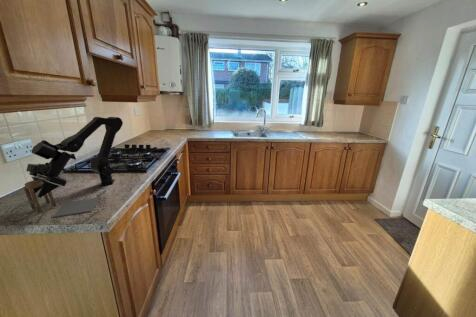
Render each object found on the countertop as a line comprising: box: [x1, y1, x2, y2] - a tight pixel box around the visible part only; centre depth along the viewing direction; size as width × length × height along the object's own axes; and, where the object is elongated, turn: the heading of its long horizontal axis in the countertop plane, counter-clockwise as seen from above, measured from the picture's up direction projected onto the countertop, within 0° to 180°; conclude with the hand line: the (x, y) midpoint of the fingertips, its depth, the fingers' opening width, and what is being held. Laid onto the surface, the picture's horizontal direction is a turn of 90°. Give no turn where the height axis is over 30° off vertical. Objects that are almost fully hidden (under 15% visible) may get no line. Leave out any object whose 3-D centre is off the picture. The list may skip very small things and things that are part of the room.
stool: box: [23, 179, 57, 213], centre depth 90 cm, size 6×6×12 cm
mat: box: [52, 197, 100, 218], centre depth 93 cm, size 12×14×1 cm
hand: (35, 195), depth 88 cm, fingers closed on stool, 6 cm apart
